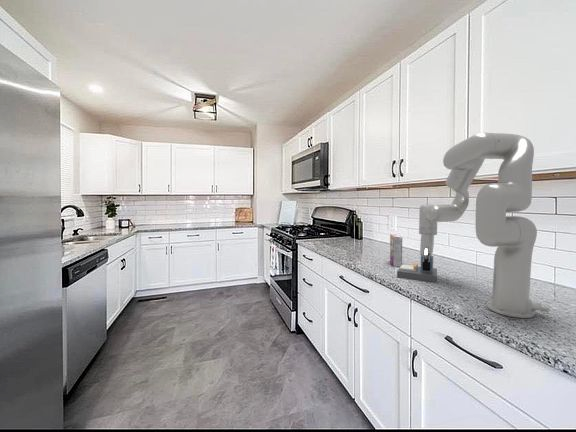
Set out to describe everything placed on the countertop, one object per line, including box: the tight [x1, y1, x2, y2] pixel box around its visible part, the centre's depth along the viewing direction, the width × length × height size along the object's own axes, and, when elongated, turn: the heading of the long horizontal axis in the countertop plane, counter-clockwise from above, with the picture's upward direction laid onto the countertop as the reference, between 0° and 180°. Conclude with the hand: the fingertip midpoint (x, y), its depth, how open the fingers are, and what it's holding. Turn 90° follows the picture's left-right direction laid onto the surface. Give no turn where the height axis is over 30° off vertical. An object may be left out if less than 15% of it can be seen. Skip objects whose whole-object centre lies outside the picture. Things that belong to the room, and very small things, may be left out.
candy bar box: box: [389, 233, 403, 268], centre depth 153 cm, size 11×5×16 cm, turn 168°
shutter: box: [399, 262, 419, 271], centre depth 134 cm, size 7×8×2 cm
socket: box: [396, 266, 438, 283], centre depth 132 cm, size 16×14×3 cm
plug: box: [420, 255, 434, 273], centre depth 129 cm, size 5×4×8 cm
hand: (426, 268), depth 129 cm, fingers open, 7 cm apart
